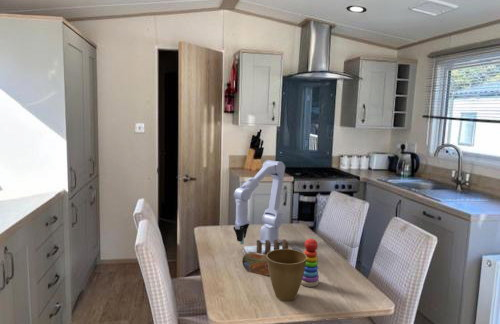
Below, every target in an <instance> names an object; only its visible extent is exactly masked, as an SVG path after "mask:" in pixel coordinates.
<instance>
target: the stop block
mask: <svg viewBox="0 0 500 324" xmlns="http://www.w3.org/2000/svg"><path fill="white" fill-rule="evenodd" d="M291 249H292V250H297V251H300V252H302V253H303V250H302V249H301V248H300V246H296V245H295V246H291Z"/></svg>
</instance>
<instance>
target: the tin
mask: <svg viewBox="0 0 500 324" xmlns="http://www.w3.org/2000/svg"><path fill="white" fill-rule="evenodd" d="M241 261H242V262H241V263H242V266H243V268H244V269H245V270H246V271H247V272H249V273H252V274H257V275H262V276H270V275H269V270H268V264H267V255H265V253H262V254H260V253H256V252H254V251H250V252H247V253H245V254H244V255H243V257H242V260H241Z"/></svg>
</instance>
